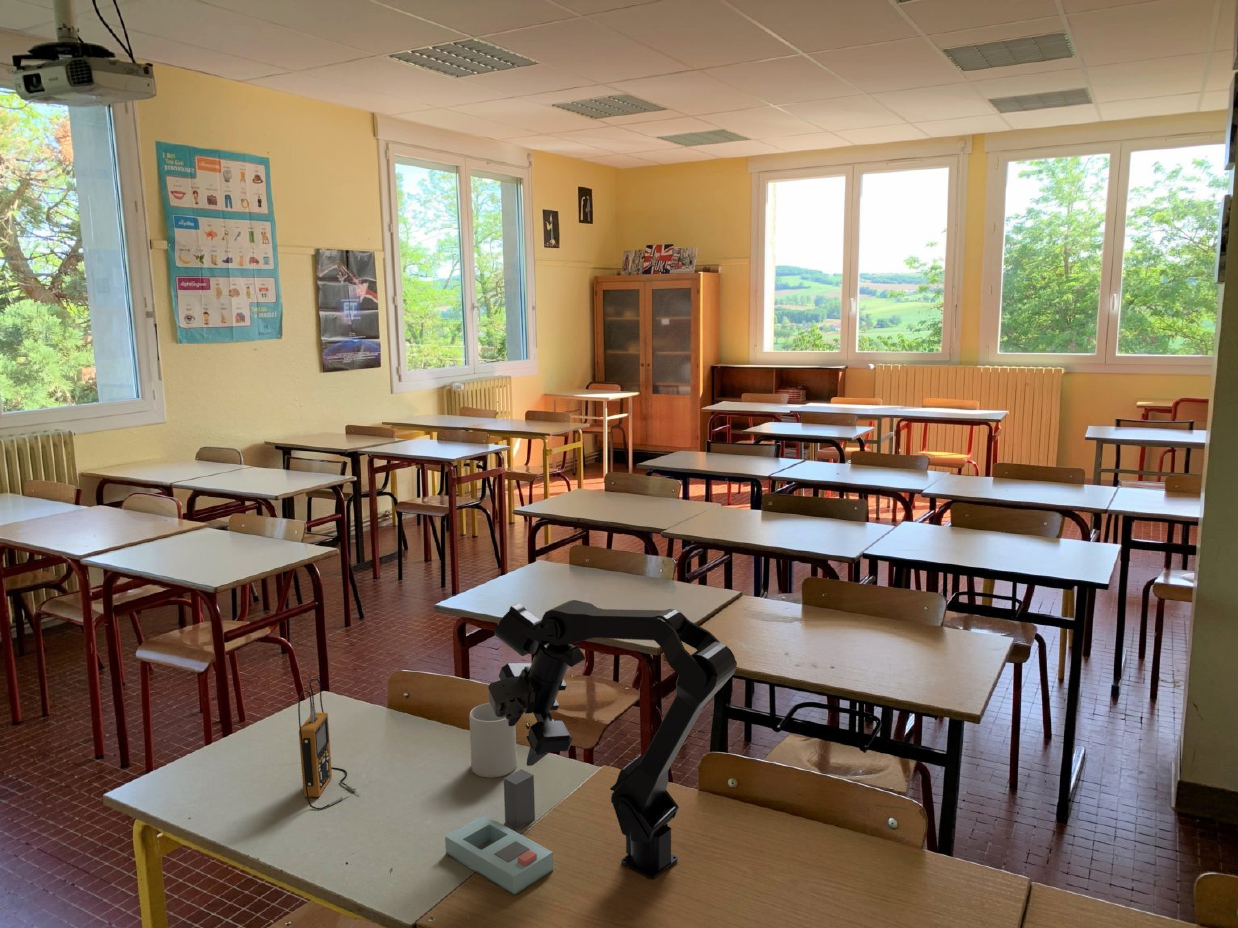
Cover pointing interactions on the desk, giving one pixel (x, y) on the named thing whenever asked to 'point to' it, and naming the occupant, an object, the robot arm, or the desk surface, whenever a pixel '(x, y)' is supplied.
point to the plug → (519, 799)
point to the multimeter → (316, 752)
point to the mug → (491, 743)
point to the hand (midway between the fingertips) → (520, 744)
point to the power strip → (499, 854)
